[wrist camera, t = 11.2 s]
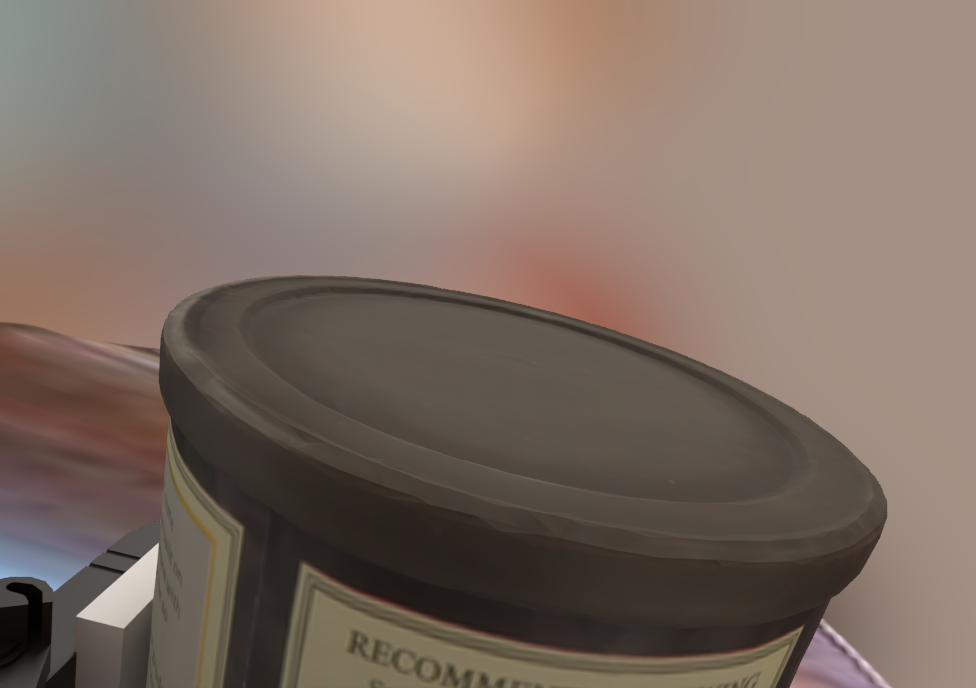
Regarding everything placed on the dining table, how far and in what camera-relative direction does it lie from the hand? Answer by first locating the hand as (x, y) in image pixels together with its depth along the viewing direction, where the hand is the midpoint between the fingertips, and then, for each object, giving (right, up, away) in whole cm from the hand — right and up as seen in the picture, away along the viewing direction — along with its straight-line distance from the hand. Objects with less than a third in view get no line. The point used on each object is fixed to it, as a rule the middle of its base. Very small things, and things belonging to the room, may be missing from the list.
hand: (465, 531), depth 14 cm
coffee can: (-2, -8, -2) cm, 9 cm away
